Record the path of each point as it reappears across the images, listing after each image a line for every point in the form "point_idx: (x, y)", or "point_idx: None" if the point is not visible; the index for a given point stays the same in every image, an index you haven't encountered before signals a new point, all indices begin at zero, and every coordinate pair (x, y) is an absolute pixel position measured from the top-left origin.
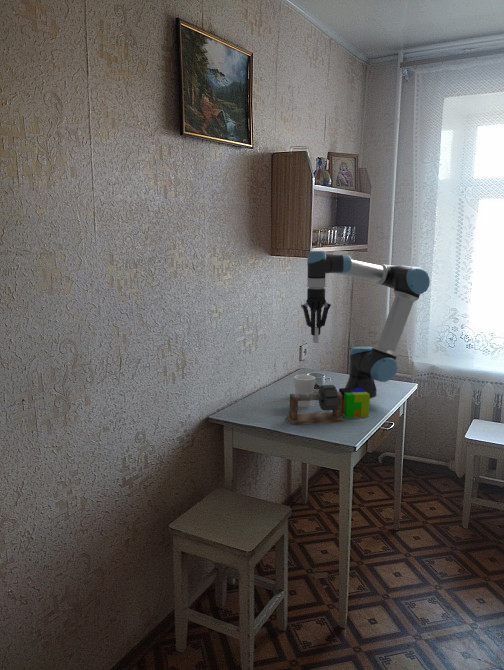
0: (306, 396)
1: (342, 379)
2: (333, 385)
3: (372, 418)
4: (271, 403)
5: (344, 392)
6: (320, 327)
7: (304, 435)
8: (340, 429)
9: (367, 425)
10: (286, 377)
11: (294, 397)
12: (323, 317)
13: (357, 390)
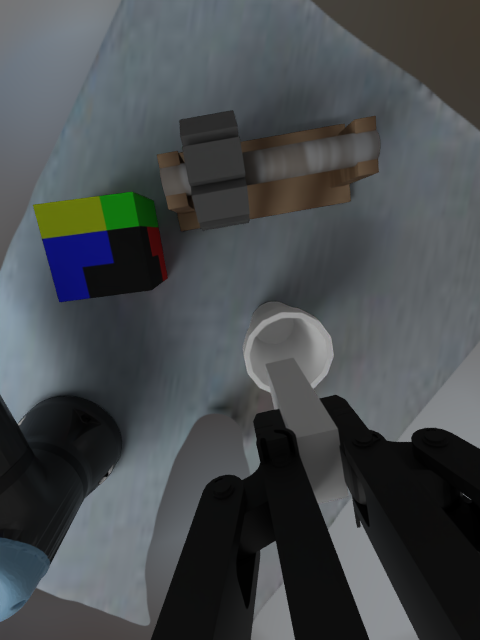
0: (314, 140)
1: (111, 566)
2: (189, 173)
3: (64, 192)
4: (370, 337)
5: (138, 230)
6: (271, 433)
7: (321, 16)
8: (190, 77)
9: (91, 119)
10: (281, 575)
11: (370, 119)
12: (225, 622)
13: (79, 260)
